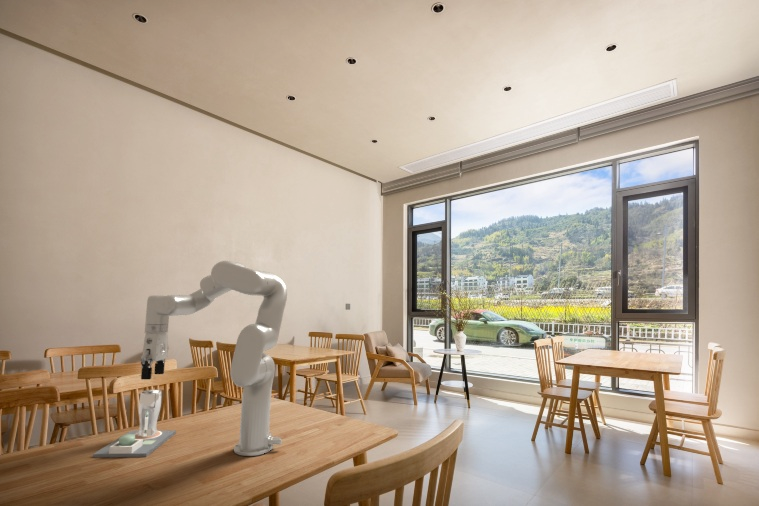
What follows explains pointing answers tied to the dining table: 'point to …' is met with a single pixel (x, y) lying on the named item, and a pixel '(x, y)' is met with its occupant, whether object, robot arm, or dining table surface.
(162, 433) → the picture board
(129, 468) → the dining table surface
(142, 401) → the beer glass
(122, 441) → the button
